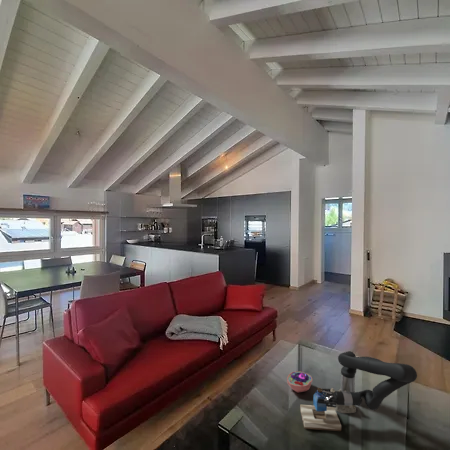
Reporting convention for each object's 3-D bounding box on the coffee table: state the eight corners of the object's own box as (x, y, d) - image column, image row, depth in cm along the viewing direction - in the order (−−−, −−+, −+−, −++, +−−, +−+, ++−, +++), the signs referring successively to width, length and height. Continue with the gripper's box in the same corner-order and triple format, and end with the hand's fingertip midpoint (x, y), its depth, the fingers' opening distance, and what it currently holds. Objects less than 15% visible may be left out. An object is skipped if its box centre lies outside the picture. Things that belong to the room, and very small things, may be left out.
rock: (358, 414, 175) (357, 391, 175) (333, 413, 177) (332, 391, 177) (349, 398, 191) (348, 377, 191) (326, 398, 192) (325, 377, 192)
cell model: (281, 386, 204) (281, 371, 203) (302, 378, 212) (302, 365, 212) (296, 400, 189) (296, 385, 188) (317, 391, 197) (317, 377, 196)
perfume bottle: (322, 403, 173) (322, 386, 173) (326, 410, 167) (326, 392, 166) (313, 404, 173) (313, 386, 172) (317, 411, 167) (316, 393, 166)
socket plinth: (300, 410, 179) (300, 404, 179) (333, 412, 177) (333, 406, 177) (304, 428, 165) (304, 422, 164) (341, 431, 162) (341, 425, 162)
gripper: (339, 385, 175) (313, 383, 177) (347, 400, 161) (319, 399, 162) (339, 395, 175) (313, 394, 177) (347, 412, 161) (319, 410, 163)
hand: (316, 396), depth 170 cm, fingers closed on perfume bottle, 7 cm apart
